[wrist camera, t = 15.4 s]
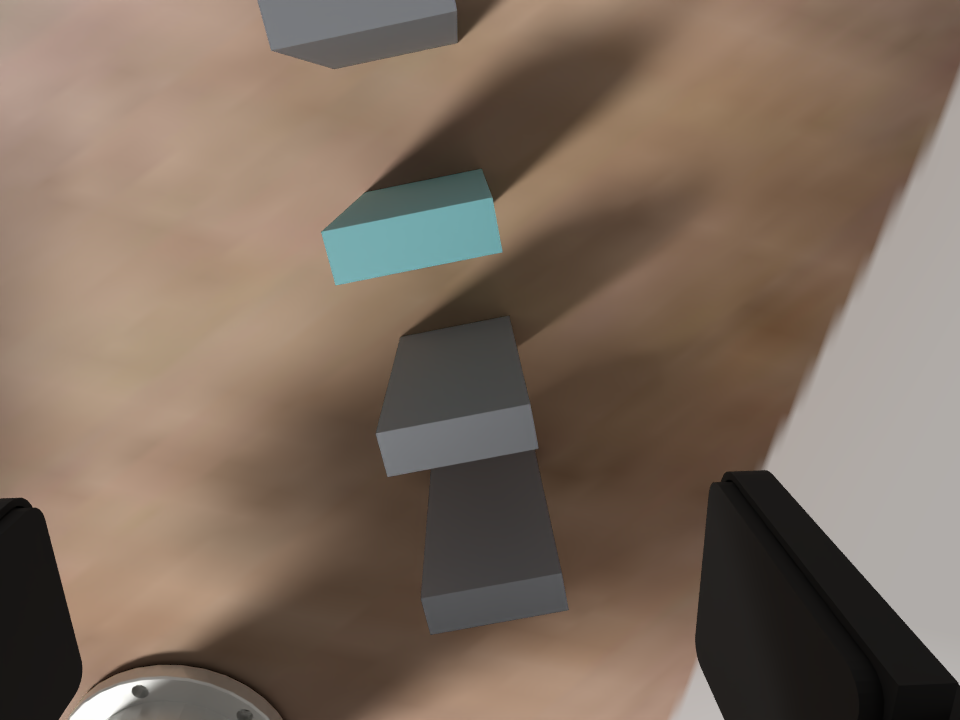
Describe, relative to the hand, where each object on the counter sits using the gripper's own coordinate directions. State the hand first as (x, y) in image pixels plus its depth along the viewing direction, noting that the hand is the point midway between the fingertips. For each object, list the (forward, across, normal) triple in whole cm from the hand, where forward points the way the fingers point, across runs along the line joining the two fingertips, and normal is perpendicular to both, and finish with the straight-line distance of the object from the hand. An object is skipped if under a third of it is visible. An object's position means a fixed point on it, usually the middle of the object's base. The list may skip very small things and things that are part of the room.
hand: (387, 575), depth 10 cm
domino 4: (+22, -2, +10) cm, 24 cm away
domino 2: (+22, 0, -3) cm, 22 cm away
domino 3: (+22, -1, +4) cm, 22 cm away
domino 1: (+22, +1, -9) cm, 24 cm away
